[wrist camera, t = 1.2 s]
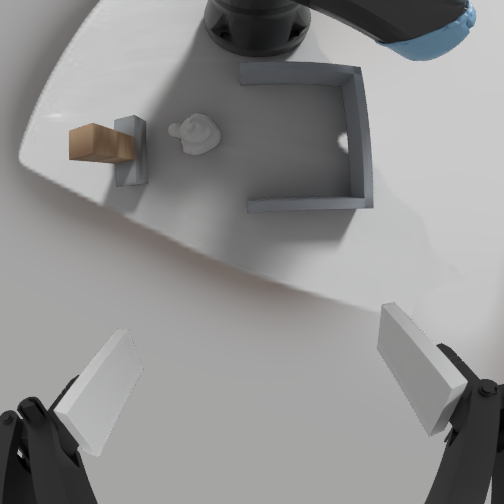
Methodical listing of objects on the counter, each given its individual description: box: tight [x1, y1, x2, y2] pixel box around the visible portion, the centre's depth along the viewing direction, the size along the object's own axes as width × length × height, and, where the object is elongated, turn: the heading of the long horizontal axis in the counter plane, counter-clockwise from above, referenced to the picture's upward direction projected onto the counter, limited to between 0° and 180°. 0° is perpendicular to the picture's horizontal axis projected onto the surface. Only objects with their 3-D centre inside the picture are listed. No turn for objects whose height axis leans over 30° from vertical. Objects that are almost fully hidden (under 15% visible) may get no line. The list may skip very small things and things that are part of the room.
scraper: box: [69, 115, 148, 187], centre depth 27 cm, size 9×3×14 cm, turn 3°
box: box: [239, 61, 373, 213], centre depth 31 cm, size 18×15×5 cm
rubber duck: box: [168, 113, 221, 155], centre depth 29 cm, size 5×7×8 cm
